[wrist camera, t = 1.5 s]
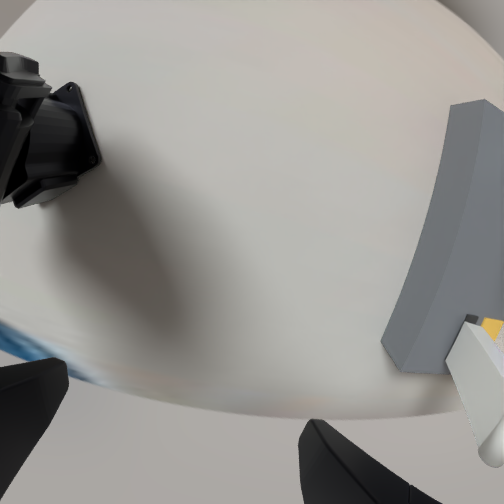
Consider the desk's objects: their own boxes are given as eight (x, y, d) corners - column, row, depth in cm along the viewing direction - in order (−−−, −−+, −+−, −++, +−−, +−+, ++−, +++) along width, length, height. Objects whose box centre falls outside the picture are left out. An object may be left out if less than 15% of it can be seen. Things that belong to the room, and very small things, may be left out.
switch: (444, 360, 17) (482, 467, 8) (463, 321, 16) (523, 416, 7) (464, 365, 17) (507, 468, 8) (483, 327, 16) (547, 418, 7)
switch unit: (380, 341, 22) (401, 372, 18) (450, 105, 17) (486, 98, 13) (453, 349, 22) (477, 376, 18) (518, 148, 17) (552, 150, 13)
